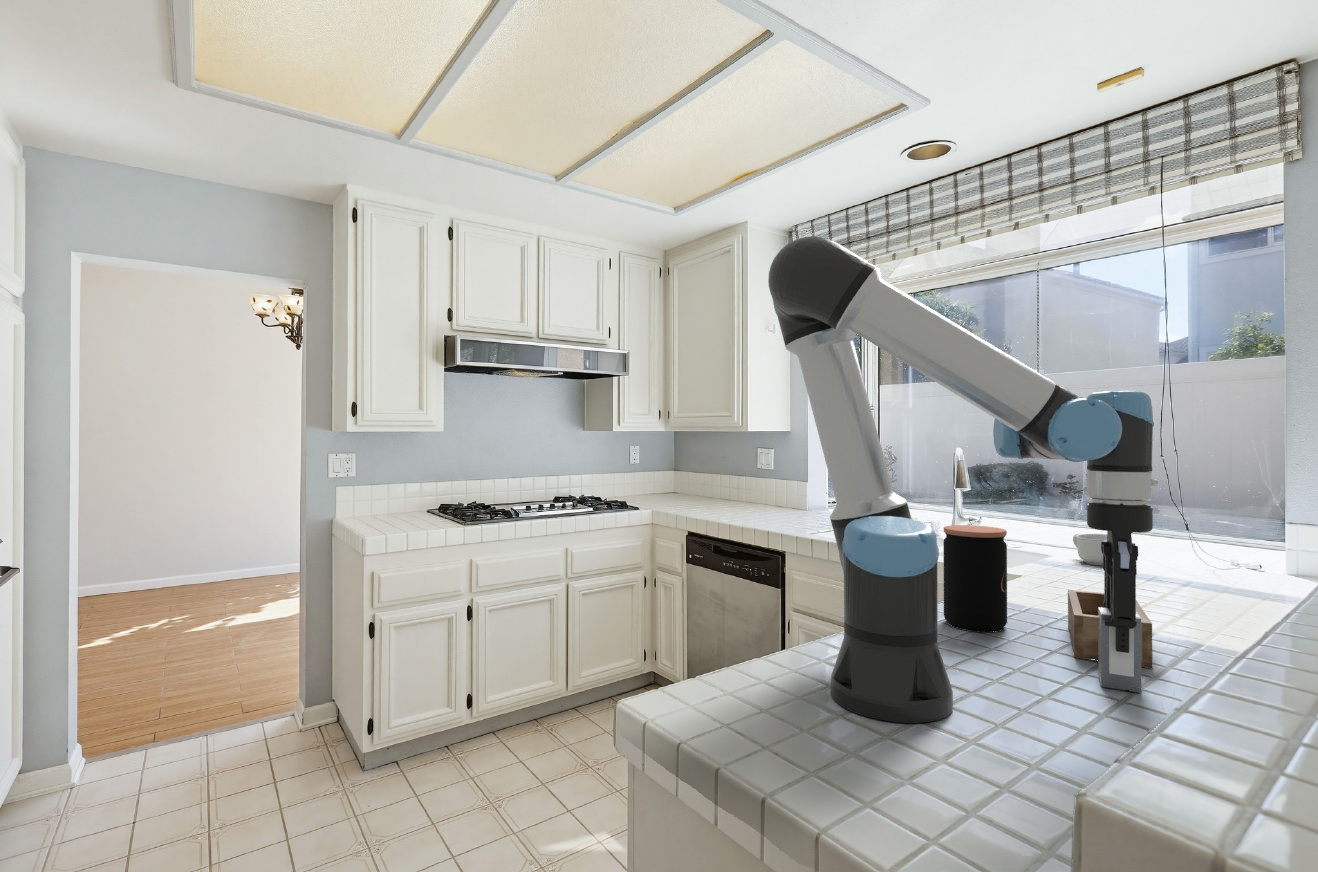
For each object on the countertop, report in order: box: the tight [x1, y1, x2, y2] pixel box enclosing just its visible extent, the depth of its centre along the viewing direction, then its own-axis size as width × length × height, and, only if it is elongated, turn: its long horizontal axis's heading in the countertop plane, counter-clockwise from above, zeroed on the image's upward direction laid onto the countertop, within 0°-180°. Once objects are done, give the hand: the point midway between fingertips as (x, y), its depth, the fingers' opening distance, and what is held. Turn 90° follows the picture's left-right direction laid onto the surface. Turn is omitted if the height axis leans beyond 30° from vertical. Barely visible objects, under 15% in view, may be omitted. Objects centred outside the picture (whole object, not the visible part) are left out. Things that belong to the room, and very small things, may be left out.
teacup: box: [1072, 533, 1107, 567], centre depth 186 cm, size 14×11×8 cm
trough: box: [1067, 589, 1153, 669], centre depth 109 cm, size 10×21×7 cm, turn 150°
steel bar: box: [1097, 607, 1142, 693], centre depth 91 cm, size 4×4×10 cm
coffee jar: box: [942, 524, 1008, 633], centre depth 121 cm, size 11×11×18 cm
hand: (1119, 668), depth 91 cm, fingers closed on steel bar, 4 cm apart
